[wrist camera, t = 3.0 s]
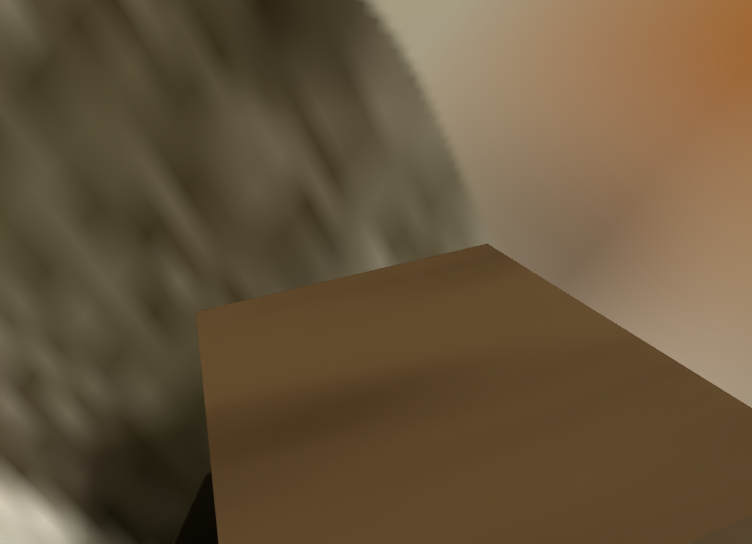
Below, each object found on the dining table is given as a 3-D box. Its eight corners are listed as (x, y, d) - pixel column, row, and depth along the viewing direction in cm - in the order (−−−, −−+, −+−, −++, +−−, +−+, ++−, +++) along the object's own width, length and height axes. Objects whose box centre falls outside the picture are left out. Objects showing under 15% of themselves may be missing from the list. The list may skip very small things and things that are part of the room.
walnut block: (492, 463, 12) (750, 796, 7) (257, 545, 11) (345, 1041, 5) (487, 243, 10) (852, 470, 5) (195, 311, 9) (237, 739, 3)
